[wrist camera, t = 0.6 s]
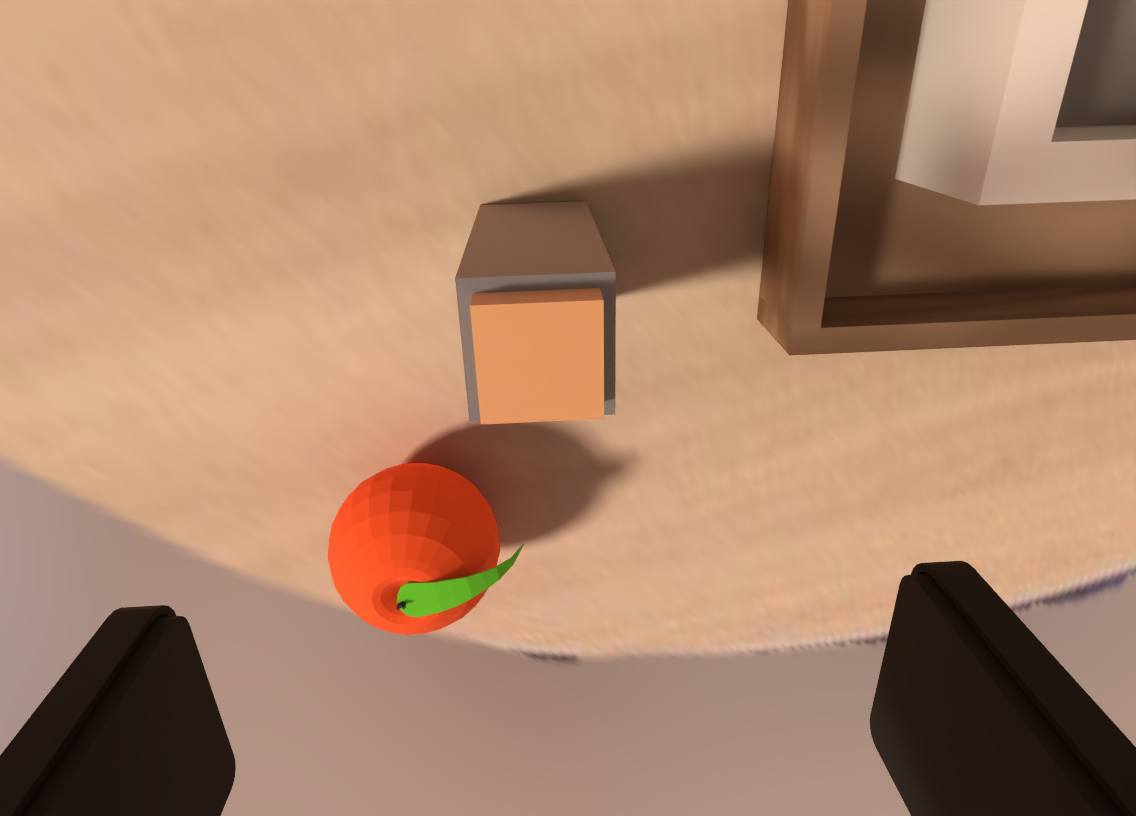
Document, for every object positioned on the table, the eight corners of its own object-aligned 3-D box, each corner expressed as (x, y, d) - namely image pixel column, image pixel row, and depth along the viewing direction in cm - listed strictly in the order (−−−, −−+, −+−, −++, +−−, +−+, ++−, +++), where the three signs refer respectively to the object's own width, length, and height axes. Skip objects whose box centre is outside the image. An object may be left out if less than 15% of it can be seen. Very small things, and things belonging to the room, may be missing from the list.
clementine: (509, 417, 30) (504, 511, 24) (537, 543, 33) (540, 657, 27) (329, 447, 31) (277, 548, 24) (374, 570, 34) (338, 689, 27)
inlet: (946, -119, 22) (1065, -170, 17) (1222, -125, 22) (1414, -176, 17) (895, 178, 26) (978, 205, 21) (1129, 170, 26) (1264, 194, 22)
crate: (813, -255, 21) (872, -321, 17) (1453, -265, 22) (1638, -330, 18) (757, 319, 29) (789, 355, 25) (1224, 298, 30) (1320, 331, 26)
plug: (480, 204, 26) (451, 289, 16) (586, 200, 26) (620, 283, 17) (488, 306, 28) (466, 438, 18) (587, 302, 28) (619, 431, 18)
